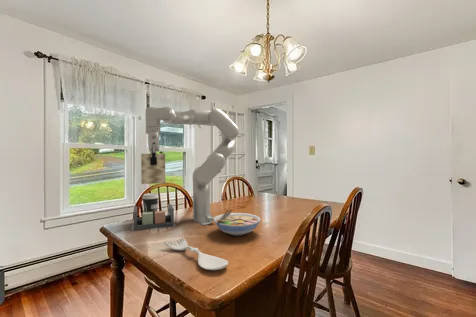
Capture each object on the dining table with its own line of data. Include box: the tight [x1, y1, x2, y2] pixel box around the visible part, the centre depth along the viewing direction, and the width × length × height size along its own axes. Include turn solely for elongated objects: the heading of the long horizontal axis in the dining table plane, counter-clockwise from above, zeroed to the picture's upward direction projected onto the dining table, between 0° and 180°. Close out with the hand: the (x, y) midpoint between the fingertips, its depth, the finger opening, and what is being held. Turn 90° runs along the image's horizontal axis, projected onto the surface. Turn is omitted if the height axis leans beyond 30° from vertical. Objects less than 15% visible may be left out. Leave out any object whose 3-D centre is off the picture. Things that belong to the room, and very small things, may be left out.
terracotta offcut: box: [155, 210, 166, 224], centre depth 122 cm, size 5×4×7 cm
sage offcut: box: [141, 211, 153, 225], centre depth 119 cm, size 5×4×7 cm
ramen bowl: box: [213, 209, 261, 237], centre depth 113 cm, size 25×23×8 cm
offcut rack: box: [130, 203, 177, 232], centre depth 123 cm, size 21×14×10 cm, turn 113°
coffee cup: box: [141, 192, 160, 217], centre depth 139 cm, size 10×10×15 cm
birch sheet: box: [140, 153, 166, 185], centre depth 126 cm, size 12×2×16 cm, turn 113°
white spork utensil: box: [163, 236, 229, 271], centre depth 86 cm, size 9×32×4 cm, turn 45°
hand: (153, 164), depth 126 cm, fingers closed on birch sheet, 2 cm apart
